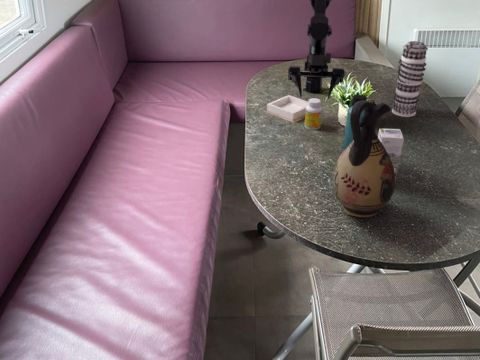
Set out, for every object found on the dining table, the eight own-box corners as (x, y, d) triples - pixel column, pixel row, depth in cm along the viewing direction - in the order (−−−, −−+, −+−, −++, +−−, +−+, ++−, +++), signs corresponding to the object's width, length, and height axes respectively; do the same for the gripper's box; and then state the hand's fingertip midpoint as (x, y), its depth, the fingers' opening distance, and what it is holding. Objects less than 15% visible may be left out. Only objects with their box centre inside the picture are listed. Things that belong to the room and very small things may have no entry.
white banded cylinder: (389, 115, 180) (401, 45, 167) (391, 105, 187) (402, 38, 174) (416, 118, 177) (430, 48, 164) (417, 108, 185) (430, 40, 172)
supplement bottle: (302, 128, 171) (303, 101, 166) (307, 122, 175) (309, 96, 170) (317, 131, 169) (319, 104, 164) (322, 125, 173) (325, 99, 168)
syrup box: (392, 173, 145) (400, 127, 138) (395, 184, 140) (404, 137, 133) (371, 172, 146) (379, 127, 138) (374, 183, 141) (382, 136, 133)
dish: (288, 102, 189) (288, 95, 187) (313, 111, 182) (314, 103, 180) (266, 111, 182) (267, 104, 180) (292, 121, 175) (293, 113, 173)
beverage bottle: (363, 164, 150) (372, 101, 140) (340, 162, 151) (348, 99, 141) (363, 154, 155) (372, 92, 145) (341, 152, 157) (348, 91, 146)
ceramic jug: (354, 185, 140) (369, 82, 124) (402, 209, 130) (424, 100, 114) (312, 207, 131) (322, 99, 115) (359, 235, 121) (377, 121, 105)
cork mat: (288, 101, 191) (288, 100, 191) (318, 112, 182) (318, 111, 182) (263, 112, 182) (263, 111, 182) (294, 124, 174) (294, 122, 174)
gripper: (289, 42, 166) (286, 86, 162) (347, 44, 164) (345, 88, 160) (289, 58, 176) (286, 100, 173) (343, 60, 174) (341, 102, 171)
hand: (314, 97), depth 169 cm, fingers open, 9 cm apart
